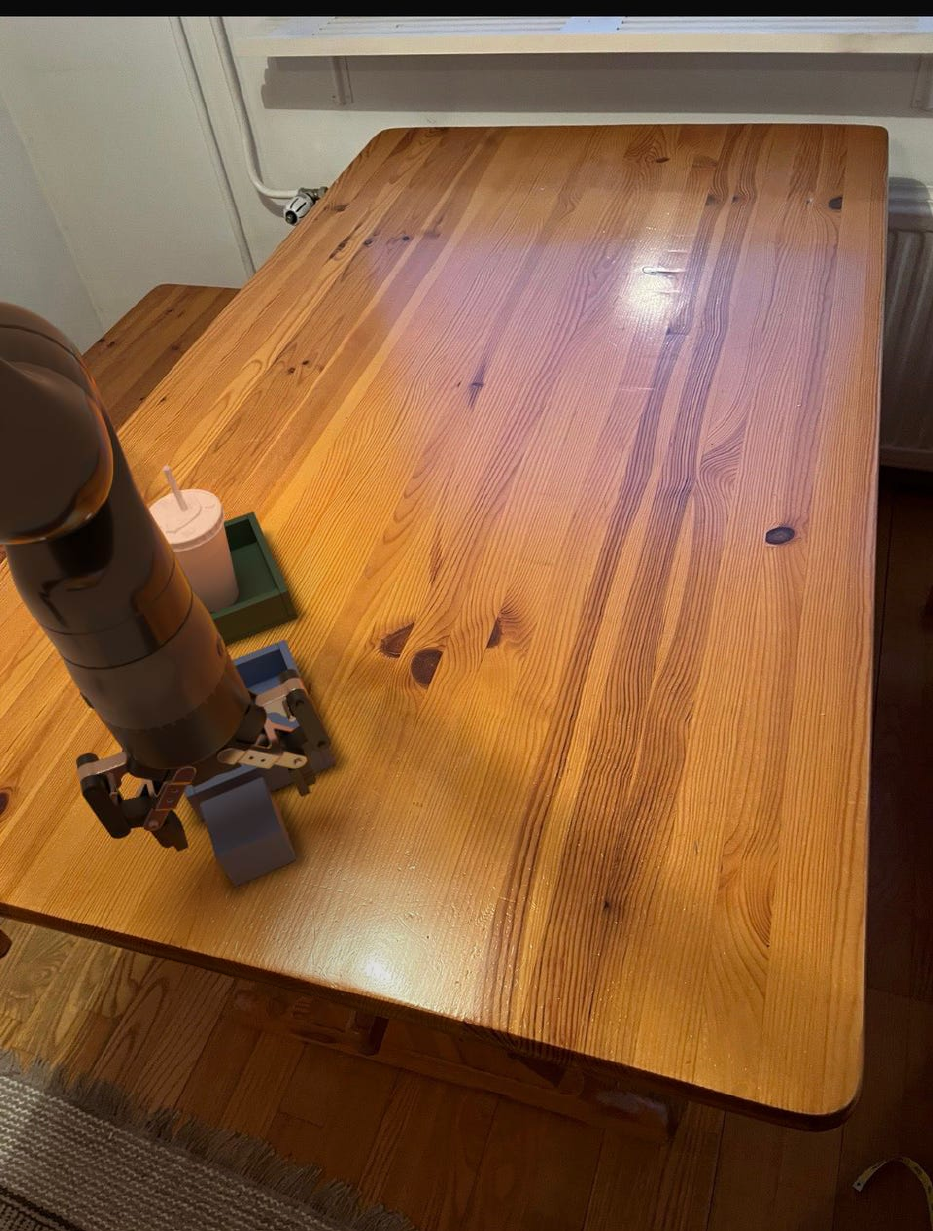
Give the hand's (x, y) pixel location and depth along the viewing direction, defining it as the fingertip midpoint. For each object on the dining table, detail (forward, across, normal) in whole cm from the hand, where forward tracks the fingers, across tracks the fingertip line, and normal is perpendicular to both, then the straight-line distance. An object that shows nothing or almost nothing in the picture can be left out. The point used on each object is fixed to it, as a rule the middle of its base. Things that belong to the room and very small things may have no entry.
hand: (242, 811), depth 62 cm
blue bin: (+4, -2, -9) cm, 10 cm away
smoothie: (+4, -3, -24) cm, 25 cm away
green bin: (+5, -3, -24) cm, 25 cm away
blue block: (+4, 0, 0) cm, 4 cm away
